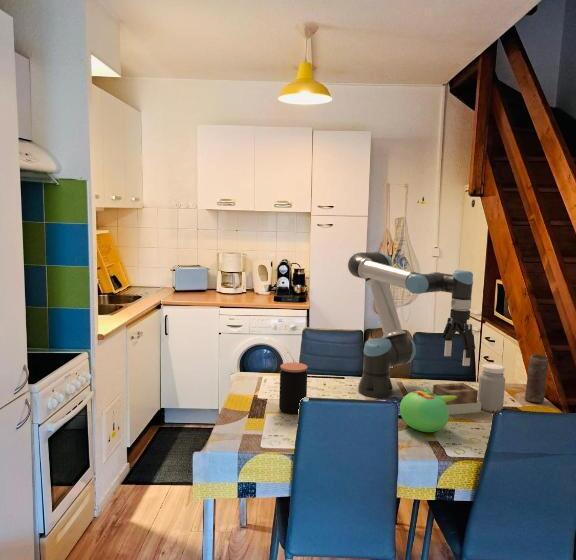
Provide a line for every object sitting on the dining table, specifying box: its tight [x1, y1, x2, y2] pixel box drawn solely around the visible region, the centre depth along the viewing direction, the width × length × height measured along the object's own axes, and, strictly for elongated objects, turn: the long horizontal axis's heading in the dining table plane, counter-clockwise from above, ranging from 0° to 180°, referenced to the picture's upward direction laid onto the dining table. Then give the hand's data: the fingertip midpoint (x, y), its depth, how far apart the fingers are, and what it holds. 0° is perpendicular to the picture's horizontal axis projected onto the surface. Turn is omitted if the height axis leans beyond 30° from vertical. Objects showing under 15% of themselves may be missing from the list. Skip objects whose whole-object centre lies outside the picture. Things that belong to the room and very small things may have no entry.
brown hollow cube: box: [432, 382, 479, 405], centre depth 203 cm, size 14×10×5 cm
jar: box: [477, 362, 506, 413], centre depth 204 cm, size 10×10×18 cm
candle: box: [524, 353, 549, 404], centre depth 214 cm, size 8×7×20 cm
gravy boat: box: [399, 387, 457, 433], centre depth 181 cm, size 18×17×15 cm
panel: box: [447, 399, 482, 416], centre depth 203 cm, size 18×10×8 cm, turn 104°
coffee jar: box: [278, 362, 308, 416], centre depth 196 cm, size 11×11×18 cm
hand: (456, 360), depth 202 cm, fingers open, 13 cm apart
